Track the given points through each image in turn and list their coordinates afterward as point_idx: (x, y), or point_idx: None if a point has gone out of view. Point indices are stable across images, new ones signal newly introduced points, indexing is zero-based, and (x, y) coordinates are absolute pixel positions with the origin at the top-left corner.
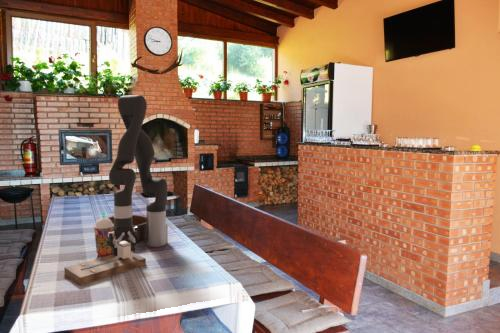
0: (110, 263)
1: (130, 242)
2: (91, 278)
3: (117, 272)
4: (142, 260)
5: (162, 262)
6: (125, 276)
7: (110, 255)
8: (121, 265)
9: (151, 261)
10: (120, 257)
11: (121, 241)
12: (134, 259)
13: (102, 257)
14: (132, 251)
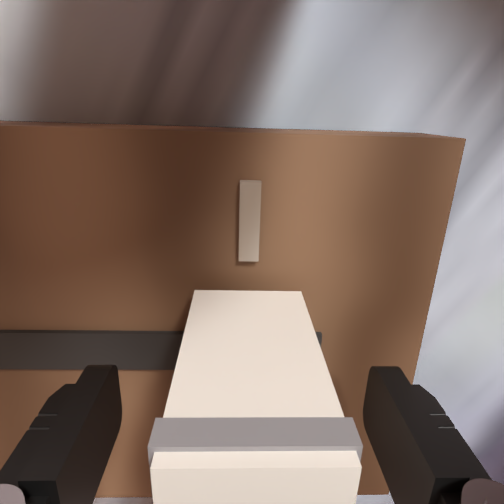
0: (36, 394)
1: (443, 480)
2: None
3: None
4: None
5: (492, 466)
6: (121, 500)
7: (154, 142)
8: (110, 495)
9: (460, 398)
10: None
11: (269, 475)
12: None
13: (19, 135)
14: (364, 414)
